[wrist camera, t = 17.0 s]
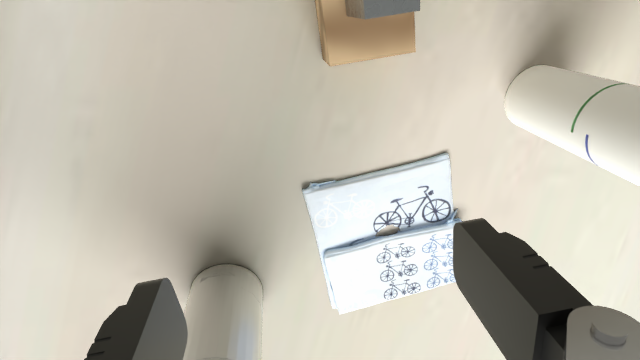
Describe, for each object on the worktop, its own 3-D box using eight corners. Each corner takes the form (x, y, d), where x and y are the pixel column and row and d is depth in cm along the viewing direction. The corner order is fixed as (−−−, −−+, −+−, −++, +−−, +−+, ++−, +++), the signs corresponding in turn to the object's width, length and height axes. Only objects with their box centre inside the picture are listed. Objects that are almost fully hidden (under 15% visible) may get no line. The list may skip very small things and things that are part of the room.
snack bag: (331, 307, 54) (333, 318, 52) (299, 181, 46) (301, 189, 44) (461, 275, 55) (468, 285, 53) (455, 144, 46) (463, 150, 44)
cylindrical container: (507, 135, 46) (739, 265, 23) (500, 77, 43) (760, 163, 20) (565, 114, 46) (855, 225, 23) (562, 55, 43) (894, 116, 20)
